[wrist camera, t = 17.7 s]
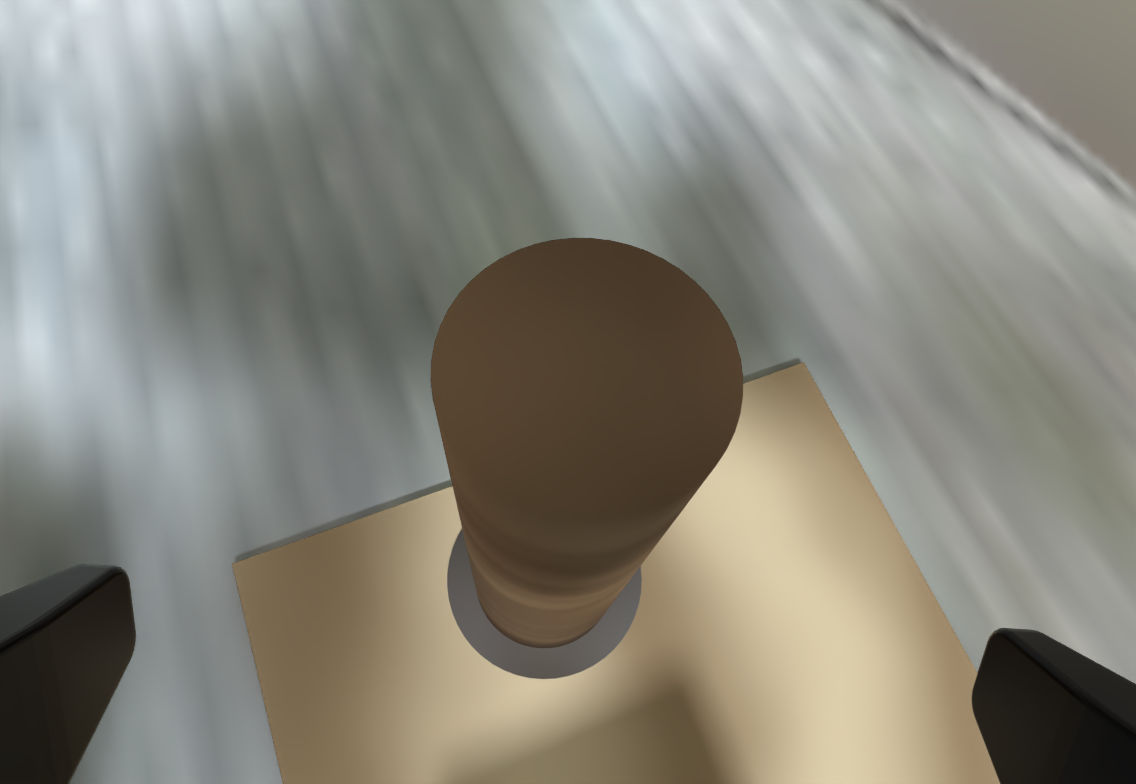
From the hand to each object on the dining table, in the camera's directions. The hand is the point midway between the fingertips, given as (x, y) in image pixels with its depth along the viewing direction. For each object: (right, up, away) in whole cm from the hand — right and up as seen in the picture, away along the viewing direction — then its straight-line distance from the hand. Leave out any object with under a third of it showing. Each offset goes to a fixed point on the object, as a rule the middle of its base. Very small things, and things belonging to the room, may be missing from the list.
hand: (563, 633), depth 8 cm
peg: (0, -2, +11) cm, 11 cm away
